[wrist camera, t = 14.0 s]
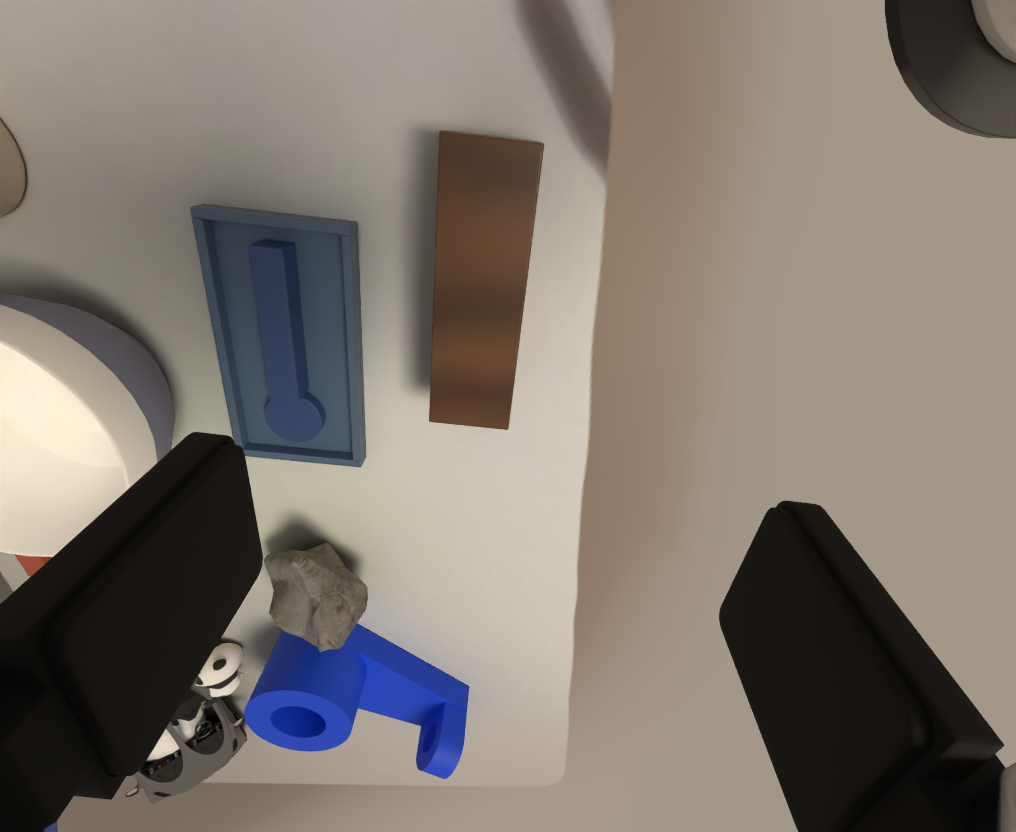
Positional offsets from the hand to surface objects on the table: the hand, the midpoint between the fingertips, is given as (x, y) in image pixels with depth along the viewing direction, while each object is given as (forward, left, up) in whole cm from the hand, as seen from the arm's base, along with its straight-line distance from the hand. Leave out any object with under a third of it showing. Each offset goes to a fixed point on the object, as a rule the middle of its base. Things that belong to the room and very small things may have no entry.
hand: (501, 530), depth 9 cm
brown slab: (+2, -2, -25) cm, 25 cm away
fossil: (+28, -13, -25) cm, 40 cm away
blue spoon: (+8, -14, -25) cm, 30 cm away
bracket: (+42, -9, -25) cm, 50 cm away
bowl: (+12, -28, -25) cm, 40 cm away
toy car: (+48, -27, -25) cm, 61 cm away
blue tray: (+8, -14, -25) cm, 30 cm away
